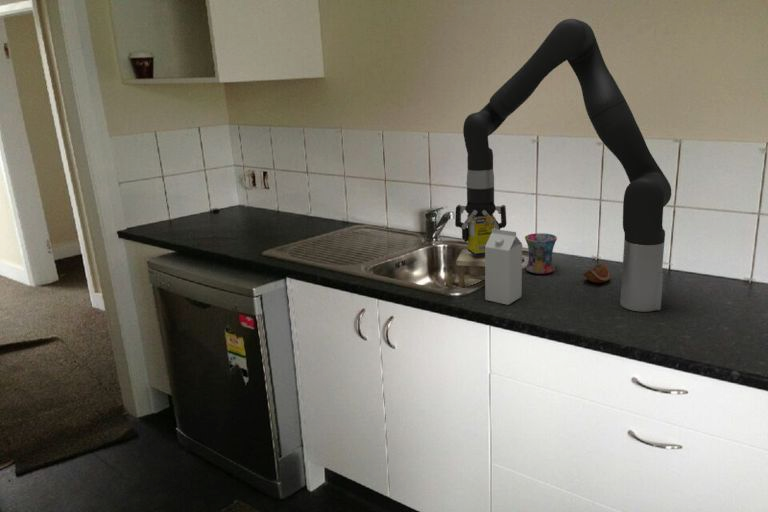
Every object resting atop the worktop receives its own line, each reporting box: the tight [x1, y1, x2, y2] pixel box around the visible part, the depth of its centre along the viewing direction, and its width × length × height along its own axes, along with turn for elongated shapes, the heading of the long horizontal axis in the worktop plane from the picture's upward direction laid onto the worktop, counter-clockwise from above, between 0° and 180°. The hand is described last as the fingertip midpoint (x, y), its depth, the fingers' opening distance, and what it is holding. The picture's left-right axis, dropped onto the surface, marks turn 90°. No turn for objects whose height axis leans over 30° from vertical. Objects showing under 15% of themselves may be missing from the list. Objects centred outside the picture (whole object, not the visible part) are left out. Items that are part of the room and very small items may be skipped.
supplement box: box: [466, 213, 495, 256], centre depth 183 cm, size 6×6×11 cm
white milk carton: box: [484, 228, 523, 306], centre depth 170 cm, size 7×7×19 cm
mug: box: [524, 232, 558, 275], centre depth 193 cm, size 12×9×11 cm
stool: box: [456, 248, 485, 288], centre depth 186 cm, size 12×12×8 cm
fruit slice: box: [582, 262, 611, 284], centre depth 181 cm, size 8×7×5 cm
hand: (480, 241), depth 183 cm, fingers closed on supplement box, 8 cm apart
